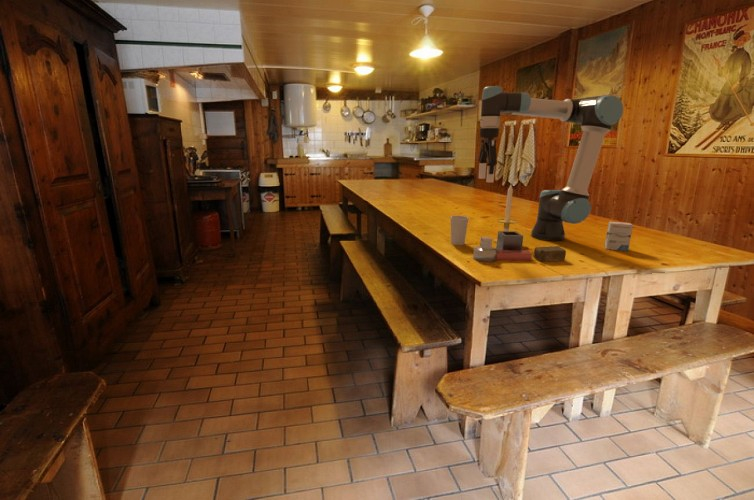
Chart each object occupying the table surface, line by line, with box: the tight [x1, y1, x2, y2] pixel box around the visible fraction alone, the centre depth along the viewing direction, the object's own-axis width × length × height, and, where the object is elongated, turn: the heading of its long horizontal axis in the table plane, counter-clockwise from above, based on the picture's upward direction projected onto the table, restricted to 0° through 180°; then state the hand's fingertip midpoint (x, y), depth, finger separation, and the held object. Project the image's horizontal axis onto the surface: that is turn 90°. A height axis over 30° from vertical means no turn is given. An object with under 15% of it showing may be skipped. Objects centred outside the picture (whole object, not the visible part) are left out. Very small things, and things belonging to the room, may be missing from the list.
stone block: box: [533, 245, 567, 263], centre depth 160 cm, size 6×12×5 cm, turn 101°
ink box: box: [604, 221, 634, 252], centre depth 175 cm, size 8×5×12 cm, turn 71°
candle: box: [493, 184, 518, 243], centre depth 182 cm, size 10×10×27 cm
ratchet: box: [472, 236, 533, 263], centre depth 159 cm, size 22×9×8 cm, turn 91°
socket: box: [496, 230, 524, 250], centre depth 169 cm, size 8×8×8 cm
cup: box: [450, 215, 470, 246], centre depth 180 cm, size 8×8×12 cm
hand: (485, 180), depth 168 cm, fingers open, 13 cm apart
